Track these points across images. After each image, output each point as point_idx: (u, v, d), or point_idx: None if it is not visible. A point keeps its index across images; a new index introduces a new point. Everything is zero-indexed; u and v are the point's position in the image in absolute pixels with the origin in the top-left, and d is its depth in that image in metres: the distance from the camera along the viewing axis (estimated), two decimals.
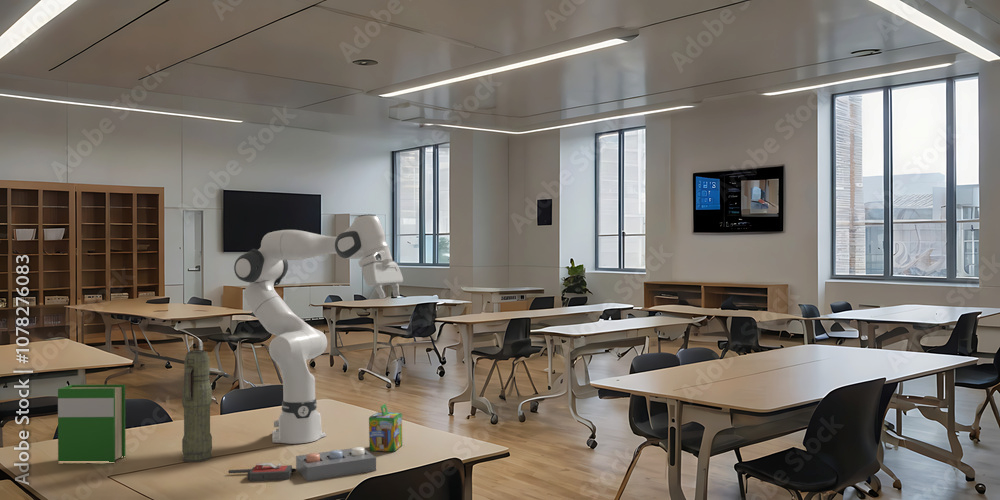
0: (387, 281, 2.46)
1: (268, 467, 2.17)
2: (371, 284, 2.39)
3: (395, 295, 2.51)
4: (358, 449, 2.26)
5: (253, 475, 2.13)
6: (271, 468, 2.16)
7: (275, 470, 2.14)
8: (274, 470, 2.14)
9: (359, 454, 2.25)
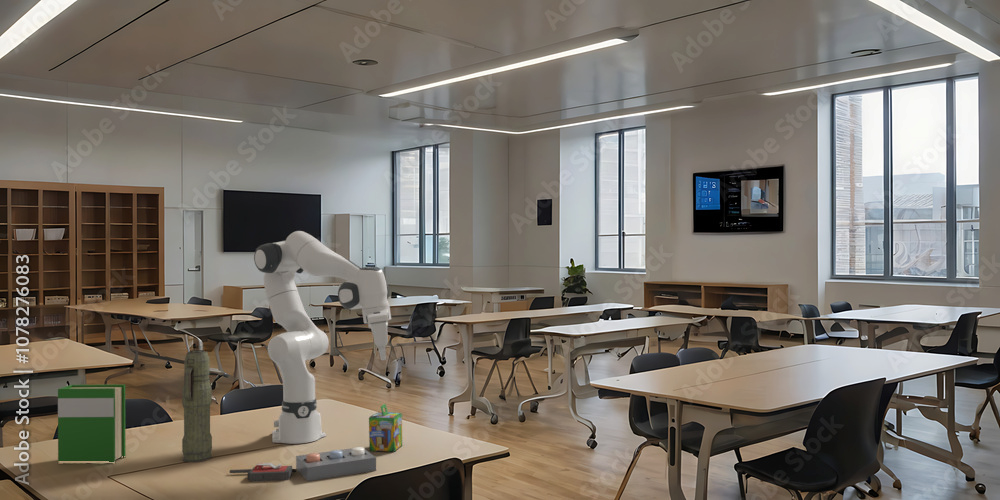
0: None
1: (268, 468, 2.16)
2: (381, 345, 2.24)
3: None
4: (358, 449, 2.26)
5: (253, 475, 2.12)
6: (271, 468, 2.16)
7: (275, 470, 2.14)
8: (274, 470, 2.14)
9: (359, 454, 2.25)
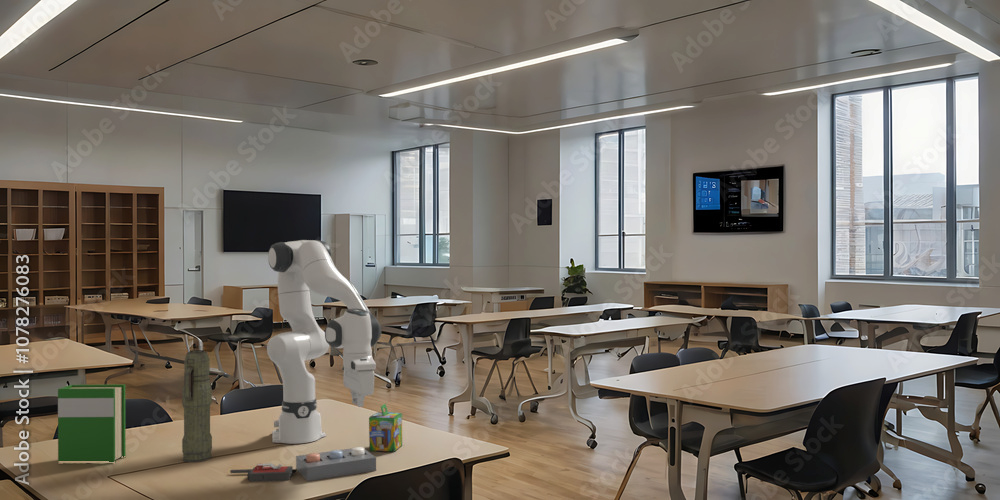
0: None
1: (268, 468, 2.16)
2: (367, 394, 2.19)
3: (356, 402, 2.28)
4: (358, 449, 2.26)
5: (253, 475, 2.12)
6: (271, 469, 2.15)
7: (275, 471, 2.14)
8: (274, 471, 2.14)
9: (359, 454, 2.25)
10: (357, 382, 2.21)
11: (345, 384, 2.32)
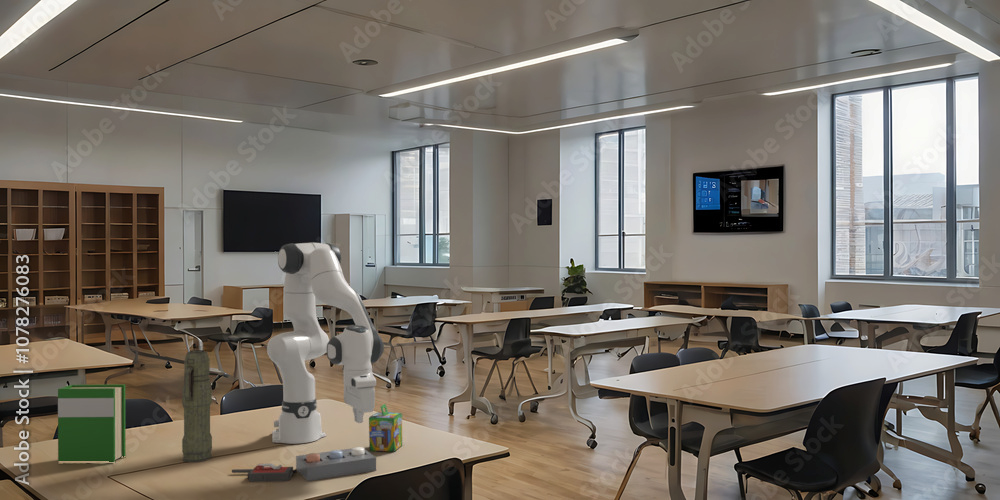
0: None
1: (269, 468, 2.16)
2: (368, 411, 2.18)
3: None
4: (358, 449, 2.26)
5: (253, 475, 2.12)
6: (271, 469, 2.15)
7: (275, 471, 2.13)
8: (274, 471, 2.13)
9: (359, 454, 2.25)
10: (358, 399, 2.21)
11: (346, 401, 2.32)
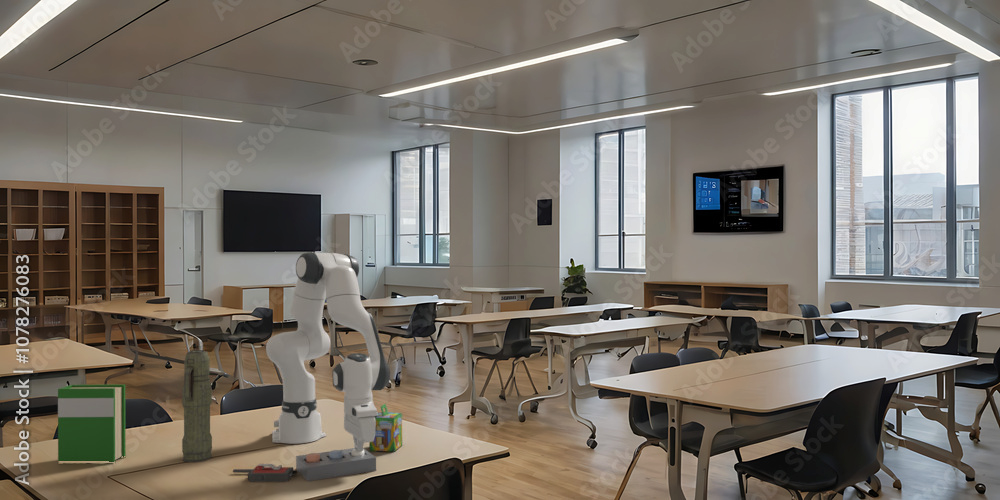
0: None
1: (269, 468, 2.16)
2: (368, 441, 2.18)
3: None
4: None
5: (253, 476, 2.12)
6: (271, 469, 2.15)
7: (274, 471, 2.13)
8: (273, 471, 2.13)
9: None
10: (358, 428, 2.21)
11: (346, 428, 2.32)
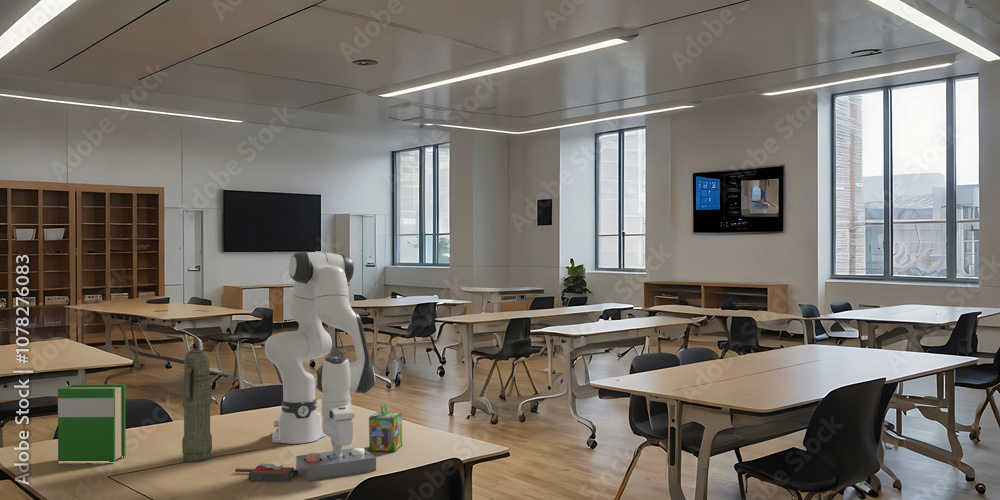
0: None
1: (270, 468, 2.16)
2: (345, 444, 2.15)
3: None
4: (358, 450, 2.26)
5: (253, 475, 2.12)
6: (272, 469, 2.15)
7: (275, 471, 2.13)
8: (274, 471, 2.13)
9: (359, 455, 2.25)
10: (336, 431, 2.18)
11: (324, 431, 2.29)
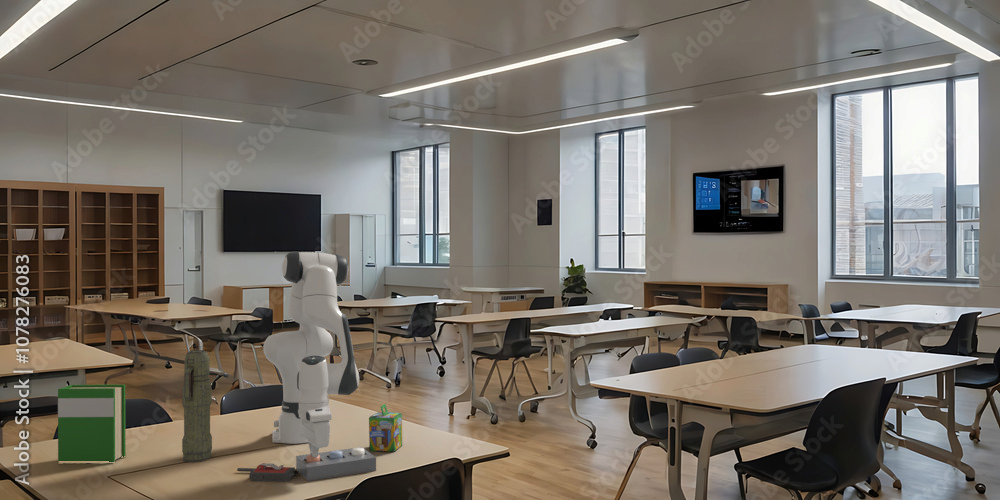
0: None
1: (271, 468, 2.16)
2: (322, 446, 2.12)
3: None
4: (358, 450, 2.26)
5: (254, 475, 2.13)
6: (273, 469, 2.15)
7: (275, 471, 2.13)
8: (274, 471, 2.13)
9: (359, 455, 2.25)
10: (312, 433, 2.15)
11: (302, 433, 2.25)
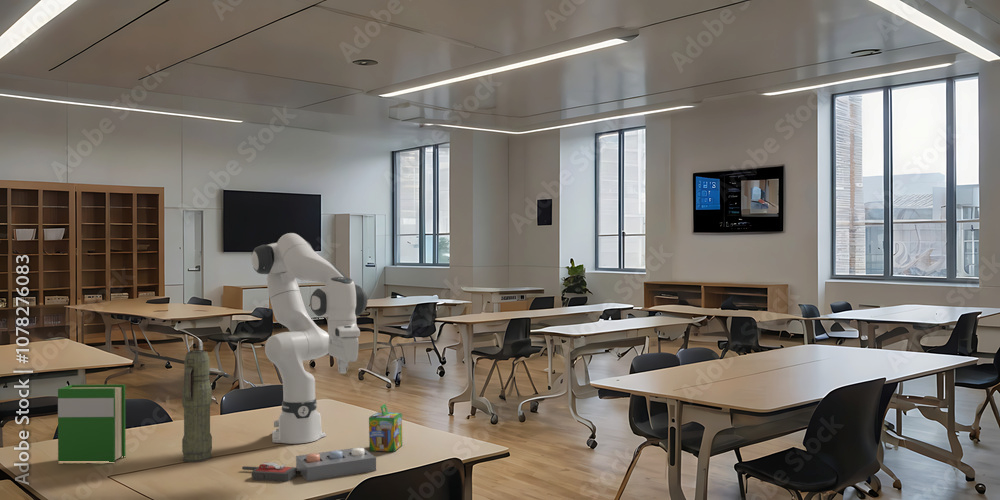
0: None
1: (273, 467, 2.17)
2: (351, 360, 2.19)
3: None
4: (358, 450, 2.26)
5: (255, 474, 2.14)
6: (274, 468, 2.16)
7: (276, 471, 2.14)
8: (275, 471, 2.14)
9: (359, 455, 2.25)
10: (341, 349, 2.22)
11: (330, 353, 2.33)
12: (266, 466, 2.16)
